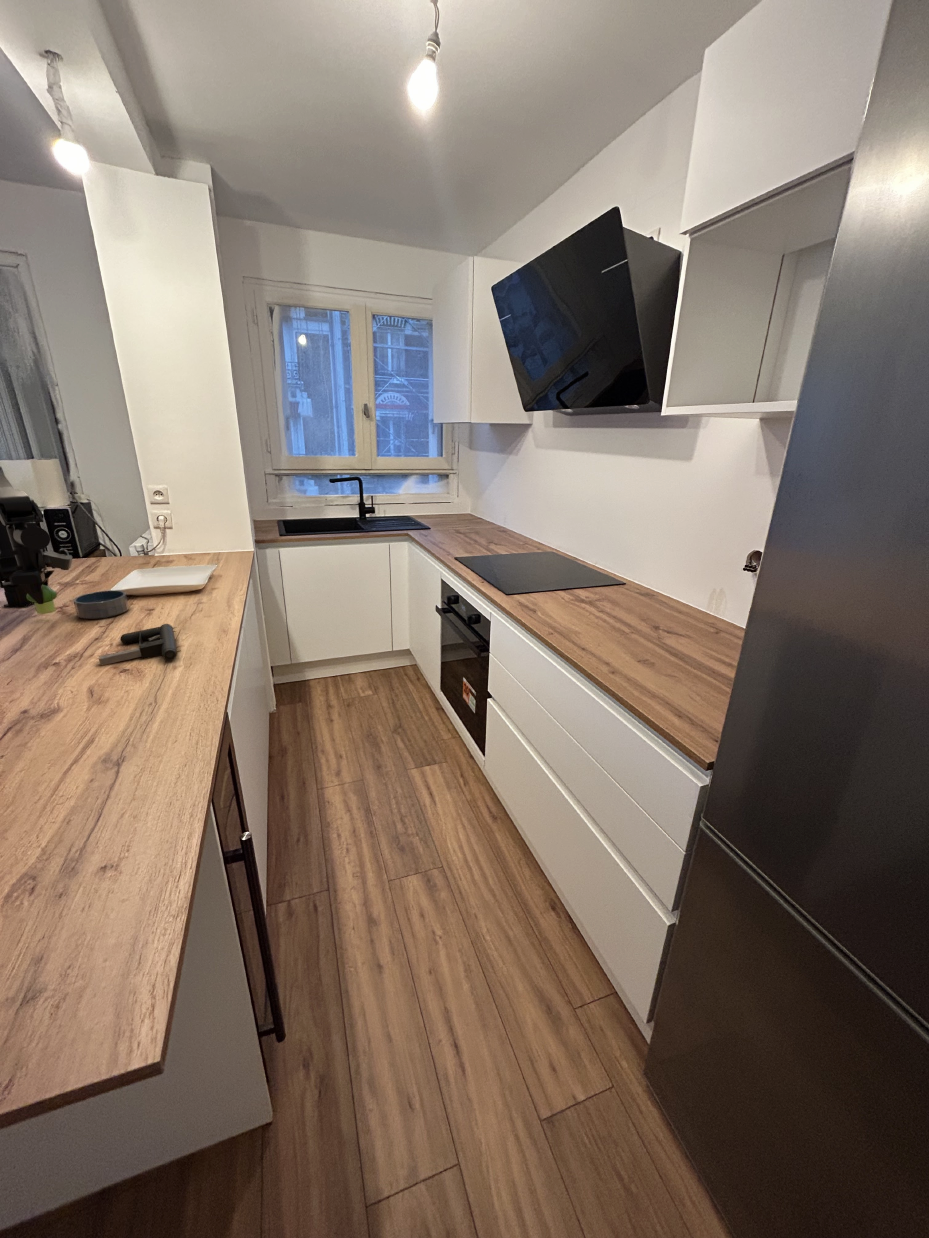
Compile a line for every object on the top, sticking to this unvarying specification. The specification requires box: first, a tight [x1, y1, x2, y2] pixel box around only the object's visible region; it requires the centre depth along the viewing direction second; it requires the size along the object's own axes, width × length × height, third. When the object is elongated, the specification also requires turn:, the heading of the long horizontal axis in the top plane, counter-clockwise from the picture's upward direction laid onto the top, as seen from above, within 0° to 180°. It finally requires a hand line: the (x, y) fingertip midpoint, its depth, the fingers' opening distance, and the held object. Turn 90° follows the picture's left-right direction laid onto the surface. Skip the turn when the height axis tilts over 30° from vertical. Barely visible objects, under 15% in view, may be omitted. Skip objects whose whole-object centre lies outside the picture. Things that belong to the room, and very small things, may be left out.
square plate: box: [109, 564, 218, 597], centre depth 166 cm, size 27×27×4 cm
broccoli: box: [26, 585, 58, 615], centre depth 132 cm, size 6×5×8 cm
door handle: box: [98, 623, 180, 666], centre depth 115 cm, size 3×20×16 cm
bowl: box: [72, 590, 130, 620], centre depth 139 cm, size 12×12×5 cm
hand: (43, 601), depth 132 cm, fingers closed on broccoli, 5 cm apart
